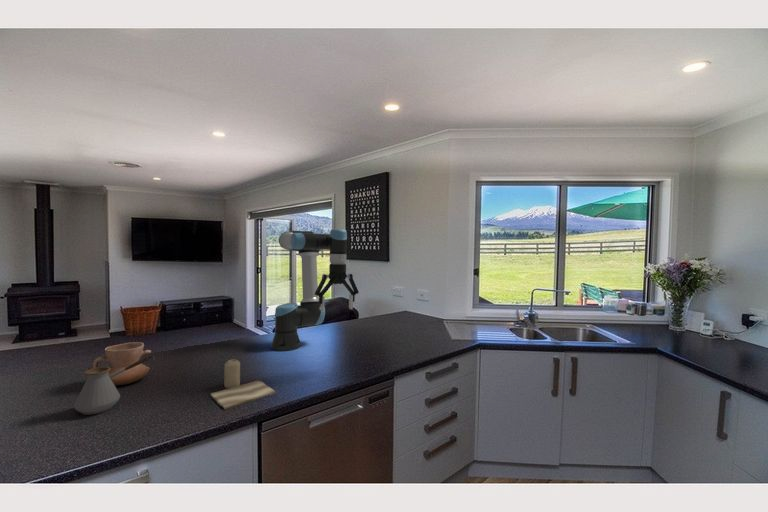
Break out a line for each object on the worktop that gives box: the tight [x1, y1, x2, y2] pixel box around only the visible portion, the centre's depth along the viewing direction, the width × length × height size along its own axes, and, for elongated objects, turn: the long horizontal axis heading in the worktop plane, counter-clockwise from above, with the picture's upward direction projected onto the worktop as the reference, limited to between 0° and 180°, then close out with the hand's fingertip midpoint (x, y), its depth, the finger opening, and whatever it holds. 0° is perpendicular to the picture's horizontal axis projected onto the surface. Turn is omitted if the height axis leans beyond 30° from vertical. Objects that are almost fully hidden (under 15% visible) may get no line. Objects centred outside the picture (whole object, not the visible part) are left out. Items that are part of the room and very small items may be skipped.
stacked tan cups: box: [92, 341, 152, 387], centre depth 129 cm, size 18×14×14 cm
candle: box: [223, 358, 241, 389], centre depth 127 cm, size 6×6×10 cm
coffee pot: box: [73, 354, 156, 416], centre depth 111 cm, size 21×12×15 cm, turn 131°
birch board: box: [210, 380, 276, 410], centre depth 120 cm, size 14×18×1 cm
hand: (336, 310), depth 148 cm, fingers open, 13 cm apart
